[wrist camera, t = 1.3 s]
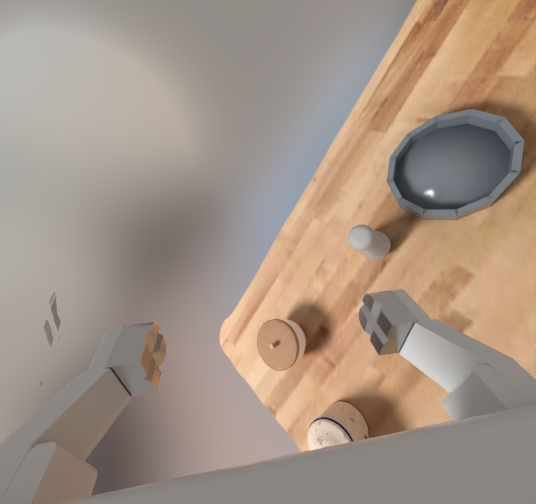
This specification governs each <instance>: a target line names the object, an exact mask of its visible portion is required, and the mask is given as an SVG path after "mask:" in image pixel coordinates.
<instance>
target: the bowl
mask: <svg viewBox="0 0 536 504" xmlns="http://www.w3.org/2000/svg"><path fill="white" fill-rule="evenodd" d="M523 147H524V139H523V138H522V137H521V136H520V134H519V133H518V132H517V131H516V130H515V128H514V127H513V126H512V125H511V123H510V122H509V121H508V120H507V119H506V117H503V116H499V115H495V114H491V113H487V112H483V111H478V110H474V109H469V110H464V111H459V112H454V113H449V114H444V115H439V116H435V117H434V118H432V119H430V120H429V121H427V122H426V123H424V124H422V125H421V126H419V127H418V128H416V129H414V130H413V131H411V132H409V133H408V134H407V135H406V136H405V138H404V139H403V140H402V142H401V143H400V145H399V146H398V147H397V149H396V150H395V151H394V153H393V154H392V155H391V157H390V162H389V169H388V176H387V183H388V185H389V187H390V188H391V190H392V192H393V194H394V196H395V198H396V200H397V202H398V204H399V205H400V207H401V208H403V209H405V210H407V211H409V212H410V213H412V214H414V215H416V216H418V217H420V218H422V219H424V220H458V219H460V218H463V217H465V216H468V215H470V214H473V213H475V212H478V211H480V210H483V209H485V208H488V207H490V206H491V205H492V204H493V203H494V202H495V201H496V200H497V199H498V198H499V197H500V196H501V195H502V193H503V192H504V191H505V190H506V189H507V188H508V187H509V186H510V185H511V184H512V183H513V182H514V180H515V179H516V178H517V176H518V175H519V173H520V171H521V163H522V155H523Z"/></svg>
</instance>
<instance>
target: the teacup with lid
mask: <svg viewBox="0 0 536 504" xmlns="http://www.w3.org/2000/svg"><path fill="white" fill-rule="evenodd" d="M368 438H371V437H369V436H368V427H367V424H366V422H365V419H364V418H363V416H362V414H361V413H360V412H359V411H358V410H357V409H356V408H355V407H354V406H352V405H351V404H349V403H346V402H342V401H338V402H334V403H332V404H331V405H330V406H329V407H328V408H327V409H326V410H325V411H324V412H323V414H322V415H321V416H320V417H319V418H317V419H316V420H314V421H313V422H312V423H311V425H310V427H309V431H308V446H309V450H315V449H320V448H325V447H330V446H334V445H339V444H344V443H349V442H354V441H358V440H363V439H368Z"/></svg>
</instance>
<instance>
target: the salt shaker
mask: <svg viewBox="0 0 536 504" xmlns="http://www.w3.org/2000/svg"><path fill="white" fill-rule="evenodd" d="M348 241H349V243H350V245H351V246H352V247H353V248H354V249H356V250H359V251H360V252H361V253H362V254H363V256H364V257H366V258H368V259H370V260H378V259H381V258H383V257H385V256H386V255H387V254H388V252H389V250H390V246H391V244H390V240H389V238H388V237H387V236H386V235H385V234H384V233H382V232H379V231H373V229H372V228H371V227H369V226H366V225H358V226H356V227H354V228H352V230H351V231H350V232H349V235H348Z"/></svg>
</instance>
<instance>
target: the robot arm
mask: <svg viewBox="0 0 536 504" xmlns="http://www.w3.org/2000/svg"><path fill="white" fill-rule="evenodd" d="M362 301H363V302H364V305H363V306H362V307H361V308H360V311H359V320H360V323H361V326H362V328H363V329H364V331H365V332H367V333H368V334H370V335H371V337H370V341H371V343H372V345H373V346H374V348H375V350H376V351H377V353H378V355H384V354H392V353H399V352H400V353H399V354H400V355H402V356H403V357H404V358H406V359H407V360H408V361H409V362H411V363H412V364H413V365H415V366H416V367H417V368H418V369H420V370H421V371H422V372H424V373H425V374H426V375H427V376H429V377H430V378H431V379H433V380H434V381H435V382H436V383H438V384H439V385H440V386H442V387H443V388H444V389H445V390H447V391H448V392H449V393H450V394H449V395H448V396H447V397H446V399H445V400H444V401H443V407H444V408H445V410H446V411H447V413H448V414H449V416H450V417H451V419H452V420H453V421H450V422H445V423H440V424H436V425H431V426H426V427H421V428H416V429H411V430H407V431H402V432H397V433H392V434H387V435H383V436H378V437H373V438H368V439H363V440H358V441H354V442H349V443H344V444H339V445H334V446H330V447H325V448H320V449H315V450H310V451H305V452H301V453H296V454H291V455H286V456H281V457H277V458H272V459H267V460H262V461H257V462H252V463H248V464H243V465H238V466H233V467H228V468H224V469H219V470H214V471H209V472H204V473H199V474H195V475H190V476H185V477H180V478H175V479H171V480H166V481H161V482H156V483H151V484H147V485H142V486H137V487H133V488H127V489H122V490H117V491H113V492H108V493H103V494H98V495H93V496H91V493H92V490H93V487H94V484H95V481H96V477H97V472H96V470H95V469H94V468H93V467H91V466H90V465H88V464H87V463H85V462H84V461H85V459H86V458H87V457H88V455H89V454H90V453H91V451H92V450H93V449H94V447H95V446H96V445H97V443H98V442H99V441H100V439H101V438H102V437H103V435H104V434H105V433H106V431H107V430H108V429H109V427H110V426H111V425H112V423H113V422H114V421H115V419H116V418H117V417H118V415H119V414H120V413H121V411H122V410H123V409H124V407H125V406H126V405H127V403H128V402H129V401H130V400H131V397H132V396H137V395H142V394H147V393H153V392H157V389H158V385H159V381H160V377H161V371H160V369H159V366H160V365H161V364H162V363H163V362H164V358H165V354H166V344H165V339H164V337H163V335H161V334H159V333H158V332H159V329H160V328H159V326H158V324H157V322H150V323H141V324H131V325H124V326H115V327H111V328H109V329H108V330H107V332H106V334H105V336H104V338H103V340H102V342H101V344H100V346H99V348H98V350H97V352H96V354H95V356H94V358H93V360H92V362H91V364H90V366H89V368H88V370H87V371H86V372H82V373H80V374H79V375H78V376H77V377H76V378H75V379H74V380H72V381H71V382H70V383H69V384H68V385H67V386H66V387H64V388H63V390H61V391H60V392H59V393H58V394H56V395H55V396H54V397H53V398H52V399H51V400H50V401H48V403H46V404H45V405H44V406H43V407H42V408H40V409H39V410H38V411H37V412H36V413H35V414H34V415H32V416H31V417H30V418H29V419H28V420H27V421H26V422H25V423H23V424H22V425H21V426H20V427H19V428H18V429H17V430H15V431H14V432H13V433H12V434H11V435H10V436H9V437H7V438H6V439H5V440H4V441H3V442H2V443H1V444H0V504H536V380H535V379H534V378H533V377H532V376H531V375H530V374H529V373H528V372H527V371H526V370H524V369H523V368H522V367H521V366H520V365H519V364H518V363H517V362H516V361H515V360H514V359H513V358H511V357H509V356H507V355H505V354H503V353H501V352H499V351H497V350H495V349H493V348H491V347H489V346H487V345H485V344H483V343H481V342H479V341H477V340H475V339H473V338H471V337H469V336H467V335H465V334H463V333H461V332H459V331H457V330H455V329H453V328H451V327H449V326H447V325H445V324H443V323H441V322H439V321H438V320H436V319H434V320H431V319H430V317H429V316H428V315H427V314H426V313H425V312H424V311H423V310H422V309H421V308H420V307H419V306H418V304H417V303H416V302H415V301H414V300H413V299H412V298H411V297H410V296H409V295H408V294H407V293H406V292H405V291H404V290H402V289H399V290H391V291H383V292H376V293H369V294H366V295H365V296H364V297H363V300H362Z"/></svg>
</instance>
